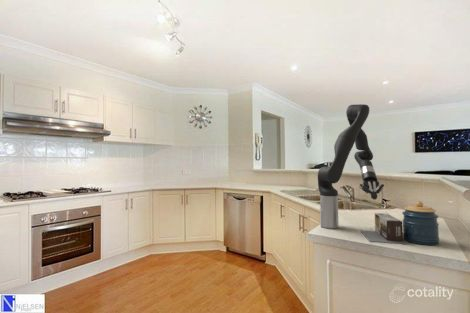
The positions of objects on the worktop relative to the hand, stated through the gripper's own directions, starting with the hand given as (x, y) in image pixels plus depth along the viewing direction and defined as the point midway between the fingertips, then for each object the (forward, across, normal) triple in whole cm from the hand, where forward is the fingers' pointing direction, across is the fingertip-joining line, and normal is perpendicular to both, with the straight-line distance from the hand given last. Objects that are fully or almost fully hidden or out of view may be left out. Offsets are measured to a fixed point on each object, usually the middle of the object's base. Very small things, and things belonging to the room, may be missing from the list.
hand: (374, 198), depth 132 cm
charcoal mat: (+25, -2, -3) cm, 25 cm away
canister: (+26, +13, -4) cm, 29 cm away
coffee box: (+14, 0, 0) cm, 14 cm away
